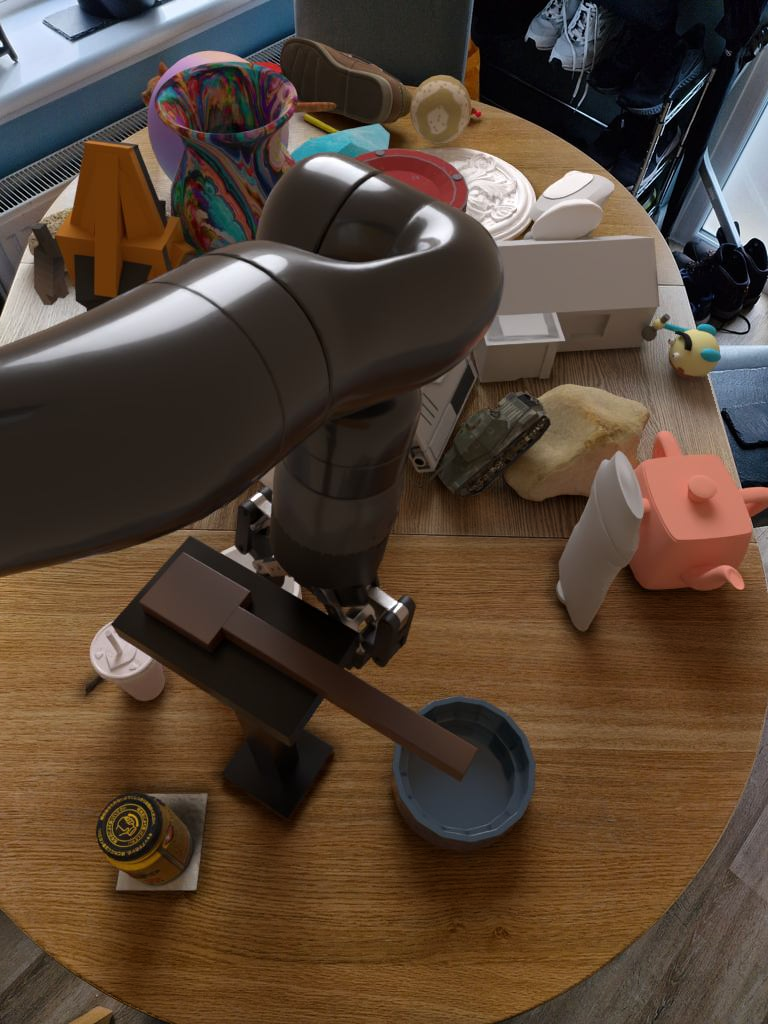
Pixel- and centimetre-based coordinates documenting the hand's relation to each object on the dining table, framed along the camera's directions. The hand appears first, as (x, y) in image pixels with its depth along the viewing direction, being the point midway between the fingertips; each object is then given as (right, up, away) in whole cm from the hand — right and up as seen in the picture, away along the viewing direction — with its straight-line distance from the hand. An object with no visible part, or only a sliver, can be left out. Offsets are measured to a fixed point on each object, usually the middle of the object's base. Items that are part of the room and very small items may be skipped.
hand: (312, 625), depth 58 cm
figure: (+12, +83, +80) cm, 116 cm away
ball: (-12, +72, +51) cm, 89 cm away
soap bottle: (+31, +48, +48) cm, 75 cm away
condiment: (-15, -22, +13) cm, 30 cm away
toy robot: (-28, +25, +44) cm, 58 cm away
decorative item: (-38, +45, +56) cm, 82 cm away
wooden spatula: (+1, -1, -11) cm, 11 cm away
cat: (-17, +66, +72) cm, 99 cm away
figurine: (+48, +33, +43) cm, 72 cm away
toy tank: (+19, +15, +35) cm, 43 cm away
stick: (-24, -7, +22) cm, 34 cm away
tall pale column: (+27, -1, +29) cm, 40 cm away
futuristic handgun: (+8, +31, +32) cm, 45 cm away
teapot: (+39, +4, +32) cm, 51 cm away
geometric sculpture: (-3, +14, +38) cm, 41 cm away
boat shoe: (-5, +85, +78) cm, 115 cm away
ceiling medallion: (+17, +61, +69) cm, 94 cm away
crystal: (-13, +50, +54) cm, 75 cm away
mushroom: (+20, +84, +78) cm, 116 cm away
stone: (+29, +15, +39) cm, 51 cm away
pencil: (-3, +77, +79) cm, 110 cm away
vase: (-13, +40, +54) cm, 69 cm away
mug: (-8, -3, +26) cm, 28 cm away
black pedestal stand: (-5, -16, +17) cm, 25 cm away
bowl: (+13, -18, +17) cm, 28 cm away
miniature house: (+30, +36, +53) cm, 71 cm away
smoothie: (-19, -9, +22) cm, 31 cm away
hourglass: (+7, +32, +50) cm, 60 cm away
